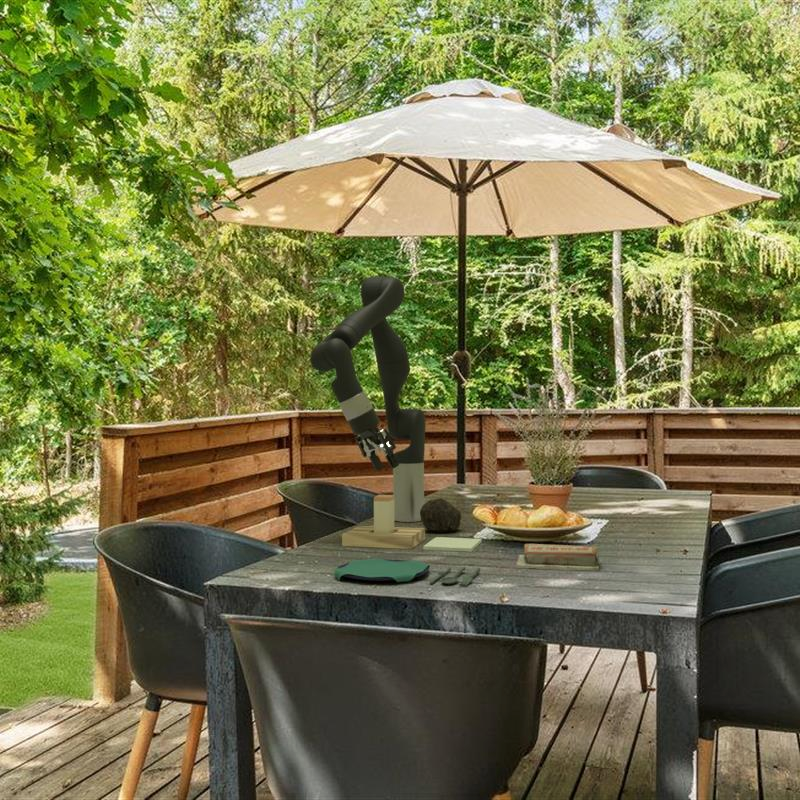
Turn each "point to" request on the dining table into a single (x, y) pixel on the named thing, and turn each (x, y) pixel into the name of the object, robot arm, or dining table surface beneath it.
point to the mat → (452, 544)
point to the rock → (440, 516)
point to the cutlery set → (395, 571)
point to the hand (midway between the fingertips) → (387, 468)
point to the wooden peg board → (383, 537)
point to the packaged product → (559, 557)
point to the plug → (384, 514)
